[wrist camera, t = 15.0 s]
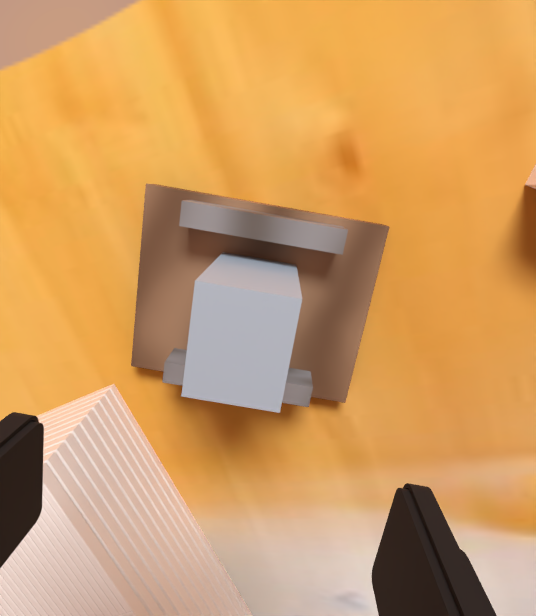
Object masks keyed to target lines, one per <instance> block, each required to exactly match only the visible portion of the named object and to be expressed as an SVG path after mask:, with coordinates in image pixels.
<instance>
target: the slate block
mask: <svg viewBox="0 0 536 616" xmlns="http://www.w3.org/2000/svg"><path fill="white" fill-rule="evenodd" d="M301 303H302V294H301V288H300V283H299V277H298V271H297V266H296V265H295V264H290V263H284V262H278V261H272V260H266V259H260V258H255V257H249V256H243V255H237V254H231V253H225V252H223V253H222V254H221V255H220V256H219V257H218V258H217V259H216V260H215V261H214V262H213V263H212V264H211V265H210V266H209V267H208V268H207V269H206V270H205V271H204V272H203V273H202V274H201V275H200V276H199V277H198V278H197V279H196V280H195V285H194V293H193V302H192V310H191V319H190V327H189V336H188V344H187V353H186V361H185V370H184V378H183V387H182V395H181V396H182V397H188V398H194V399H200V400H206V401H212V402H218V403H224V404H230V405H236V406H242V407H248V408H254V409H260V410H266V411H272V412H278V413H280V410H281V405H282V400H283V395H284V390H285V384H286V379H287V374H288V369H289V364H290V359H291V354H292V349H293V344H294V339H295V334H296V329H297V324H298V319H299V313H300V308H301Z"/></svg>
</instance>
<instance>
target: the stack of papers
mask: <svg viewBox="0 0 536 616" xmlns="http://www.w3.org/2000/svg"><path fill="white" fill-rule="evenodd" d="M36 417H37V418H38V420H39V423H42V424H43V426H44V446H43V491H42V510H41V514H40V516H39V518H38V520H37V522H36V523H35V525H34V526H33V527H32V528H31V530H30V531H29V532H28V534H27V535H26V536H25V537H24V539H23V540H22V541H21V543H20V544H19V545H18V546H17V548H16V549H15V550H14V552H13V553H12V554H11V555H10V557H9V558H8V559H7V561H6V562H5V563H4V564H3V566H2V567H1V568H0V616H253V615H252V614H251V612H250V610H249V609H248V607H247V605H246V604H245V602H244V600H243V599H242V597H241V595H240V594H239V592H238V590H237V589H236V587H235V585H234V584H233V582H232V580H231V579H230V577H229V575H228V573H227V572H226V570H225V568H224V567H223V565H222V563H221V562H220V560H219V558H218V557H217V555H216V553H215V552H214V550H213V548H212V547H211V545H210V543H209V542H208V540H207V538H206V537H205V535H204V533H203V532H202V530H201V528H200V527H199V525H198V523H197V522H196V520H195V518H194V517H193V515H192V513H191V512H190V510H189V508H188V507H187V505H186V503H185V502H184V500H183V498H182V497H181V495H180V493H179V492H178V490H177V488H176V486H175V485H174V483H173V481H172V480H171V478H170V476H169V475H168V473H167V471H166V470H165V468H164V466H163V465H162V463H161V461H160V460H159V458H158V456H157V455H156V453H155V451H154V450H153V448H152V446H151V445H150V443H149V441H148V440H147V438H146V436H145V435H144V433H143V431H142V430H141V428H140V426H139V425H138V423H137V421H136V420H135V418H134V416H133V415H132V413H131V411H130V410H129V408H128V406H127V405H126V403H125V401H124V399H123V398H122V396H121V394H120V393H119V391H118V389H117V388H116V386H115V384H112V385H110V386H107V387H105V388H103V389H100V390H98V391H95V392H93V393H91V394H88V395H86V396H83V397H81V398H79V399H76V400H74V401H71V402H69V403H67V404H64V405H62V406H59V407H57V408H55V409H52V410H50V411H47V412H45V413H43V414H40V415H38V416H36Z"/></svg>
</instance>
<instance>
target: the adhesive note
mask: <svg viewBox="0 0 536 616" xmlns="http://www.w3.org/2000/svg"><path fill="white" fill-rule="evenodd" d="M525 185H527V186H529V187H532V188H534V189H536V165H535V166H534V168H533V170H532V172H531V174H530V176H529V178H528V180H527V182H526V184H525Z"/></svg>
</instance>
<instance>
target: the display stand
mask: <svg viewBox="0 0 536 616" xmlns="http://www.w3.org/2000/svg"><path fill="white" fill-rule="evenodd" d="M388 230H389V226H386V225H382V224H376V223H371V222H365V221H359V220H354V219H348V218H342V217H337V216H331V215H326V214H320V213H314V212H309V211H303V210H297V209H292V208H286V207H280V206H275V205H269V204H263V203H258V202H252V201H246V200H241V199H235V198H229V197H224V196H218V195H212V194H207V193H201V192H195V191H190V190H184V189H178V188H173V187H167V186H161V185H156V184H146V190H145V202H144V215H143V227H142V239H141V252H140V264H139V277H138V289H137V301H136V314H135V326H134V338H133V351H132V363H131V366H134V367H140V368H146V369H152V370H157V371H163V372H164V373H163V382H164V383H170V384H176V385H182V386H183V378H184V370H185V361H186V353H187V344H188V336H189V327H190V319H191V310H192V302H193V293H194V285H195V280H196V279H197V278H198V277H199V276H200V275H201V274H202V273H203V272H204V271H205V270H206V269H207V268H208V267H209V266H210V265H211V264H212V263H213V262H214V261H215V260H216V259H217V258H218V257H219V256H220V255H221V254H222V253H223V252H225V253H231V254H237V255H243V256H249V257H255V258H260V259H266V260H272V261H278V262H284V263H290V264H295V265H296V266H297V271H298V277H299V283H300V288H301V294H302V303H301V308H300V313H299V319H298V324H297V329H296V334H295V339H294V344H293V349H292V354H291V359H290V364H289V369H288V374H287V379H286V384H285V390H284V395H283V400H282V403H287V404H293V405H299V406H305V407H309V403H310V399H311V397H315V398H321V399H327V400H333V401H339V402H345V401H346V397H347V393H348V389H349V385H350V381H351V377H352V373H353V369H354V365H355V362H356V358H357V354H358V350H359V346H360V342H361V338H362V334H363V330H364V326H365V322H366V318H367V314H368V310H369V306H370V302H371V298H372V294H373V290H374V286H375V282H376V278H377V274H378V270H379V266H380V262H381V258H382V254H383V250H384V246H385V242H386V238H387V234H388Z"/></svg>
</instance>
